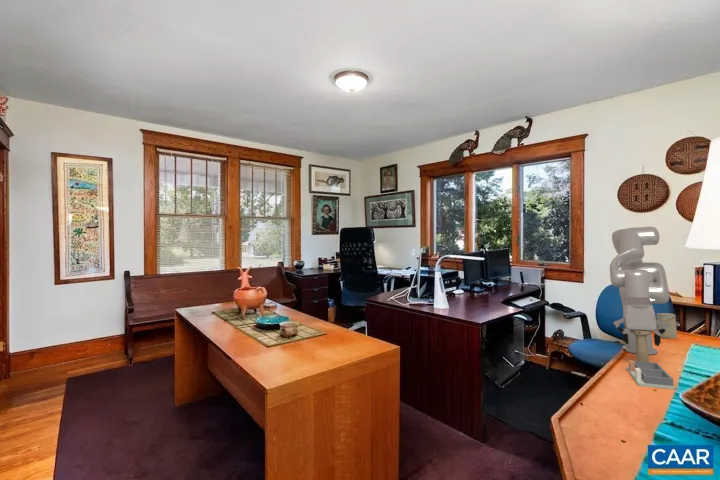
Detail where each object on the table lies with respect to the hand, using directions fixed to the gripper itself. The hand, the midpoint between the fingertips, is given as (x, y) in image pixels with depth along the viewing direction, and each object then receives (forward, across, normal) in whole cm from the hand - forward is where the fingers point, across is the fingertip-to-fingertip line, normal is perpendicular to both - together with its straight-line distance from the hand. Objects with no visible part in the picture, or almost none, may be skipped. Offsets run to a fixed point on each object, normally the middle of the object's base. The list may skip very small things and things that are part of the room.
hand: (641, 344), depth 138 cm
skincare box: (+8, -22, -56) cm, 60 cm away
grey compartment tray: (+10, +1, +12) cm, 16 cm away
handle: (+10, 0, -1) cm, 10 cm away
